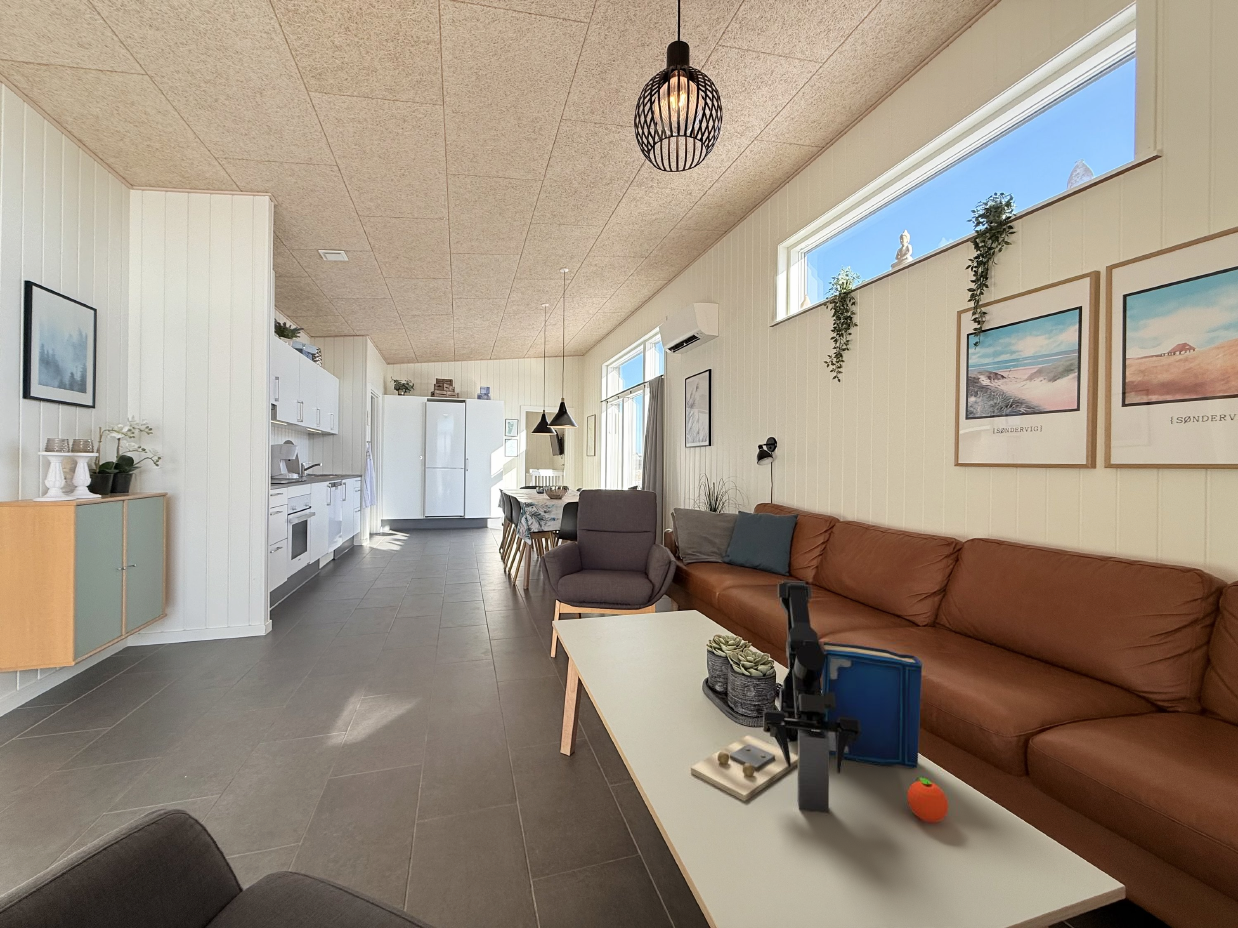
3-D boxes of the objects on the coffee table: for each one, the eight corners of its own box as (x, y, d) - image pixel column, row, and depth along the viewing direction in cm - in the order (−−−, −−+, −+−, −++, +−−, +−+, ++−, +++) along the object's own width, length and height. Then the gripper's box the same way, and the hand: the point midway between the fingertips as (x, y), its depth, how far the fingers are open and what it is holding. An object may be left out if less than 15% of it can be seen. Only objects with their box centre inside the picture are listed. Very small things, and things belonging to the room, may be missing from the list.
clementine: (898, 804, 112) (898, 768, 112) (933, 805, 112) (933, 769, 112) (918, 830, 104) (918, 791, 104) (956, 831, 104) (956, 792, 104)
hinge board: (748, 739, 138) (748, 725, 138) (800, 762, 128) (800, 747, 128) (690, 772, 123) (690, 757, 123) (744, 801, 112) (744, 784, 113)
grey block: (795, 790, 116) (796, 721, 116) (823, 794, 115) (824, 723, 115) (799, 809, 110) (799, 735, 110) (828, 813, 109) (829, 738, 109)
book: (918, 758, 130) (919, 650, 130) (924, 773, 123) (925, 660, 123) (819, 742, 137) (820, 640, 137) (819, 756, 130) (820, 649, 130)
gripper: (764, 670, 117) (766, 749, 106) (859, 678, 113) (872, 761, 102) (762, 693, 124) (764, 769, 114) (851, 701, 121) (862, 780, 110)
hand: (813, 769), depth 110 cm, fingers open, 9 cm apart
